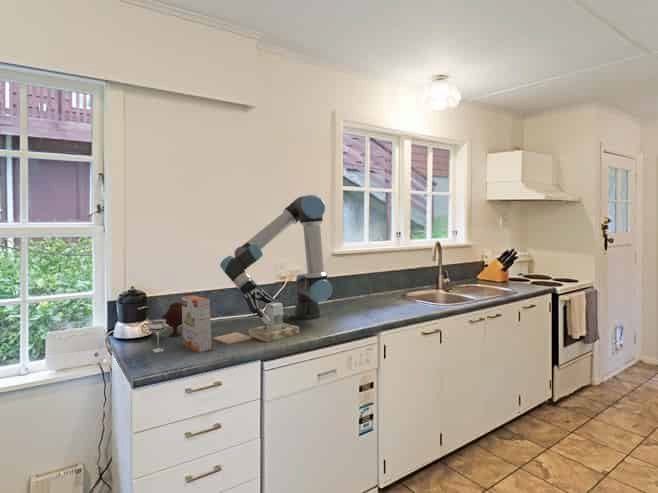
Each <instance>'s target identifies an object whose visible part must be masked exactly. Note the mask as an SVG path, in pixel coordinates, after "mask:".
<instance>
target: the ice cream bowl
mask: <svg viewBox="0 0 658 493" xmlns="http://www.w3.org/2000/svg"><path fill="white" fill-rule="evenodd" d="M161 319H165V320H166V322H165V323H166V325H167V326H169V327H171V328H172V329H173V330H172V332H171V333H170V334H168V336H169V337H170V338H177V336H178V337H181V336H183V333H181V332H180V331H178V327H180V326H181V325H183V323H182V302H177V301H176V302H173V303H171V304H170V305H169V309H168V310H167V311H166V312H165V313H164V314H163V315H161Z"/></svg>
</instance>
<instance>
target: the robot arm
mask: <svg viewBox="0 0 658 493" xmlns="http://www.w3.org/2000/svg"><path fill="white" fill-rule="evenodd" d="M282 211H283V212H282V213H281V214H279V215H278V216H277V217H276V218H275V219H273V220H272V221H271V222H270V223H269V224H267V225H266V226H265V227H263V228H262V229H261V230H260V231H259V232H257V233H256V234H255V235H253V237H251V238H250V239H249V240H247V241H246V242H245V243H244V244H243V245H241V246H238V247H236V248H235V250H234V254H233V255H234V256H232V255H228V256H227V257H225V258H224V259H223V260H222V261H221V262H220V264H219V266H220V268H221V270H222V271H223V272H224V273H225V275H226V276H227V277H228V278H229V280H231V281H232V283H233V284H234V285H235V287H237V289H239V291H240V292H241V293H242V294H243V298H244V299H245V301H246V304H247V306H248V308H249V310H250V313H252V314H253V315H257V316H258V317H259V318H260V319H261V320H262V321H263V323H264V324H267V323H268V322H269V321H270V319H269V318H268V316H267V315H266V314H265V312H264V311H263V309H262V308H260V306H259V302H260V301H261V302H263V303H264V304H268V303H272V302H277V299H275V298H274V297H273V296H271V295H270V294H268V292H266V291H265V290H264V289H263V288H259V289H257V287H258V284H257V283H256V281H254V280H253V279H252V277H251V276H250V275H249V273H248V272H246V270H247V269H249V268H250V266H252V265H253V264H255V263H256V262H257V261H259V260H260V259H261V258H262V257H263V256H264V253H263V251H262V249H264V248H265V247H266V246H267V245H268V244H269V243H271V242H272V241H273V240H274V239H276V238H277V237H278V236H279V235H280V234H282V233H283V232H284V231H285V230H287V229H288V228H290V227H291V225H295V224H297V223H298V222H299V224H300V225H301V226H303V227H302V228H303V240H304V250H305V251H304V252H305V259H306V260H305V261H306V273H303V274H297V275H296V277H295V284H296V285H295V286H296V288H295V289H296V303H295V307H294V310H293V317H294V318H295V319H296V318H297V319H301V320H303V319H304V320H308V319H311V320H312V319H317V318H320V317H322V310H321V307H320V304H319V303H324V302H325V301H326V300H328V299H330V297H331V295H332V293H333V292H332V291H333V288H332V285H331V283H330V282H329V281H328V273H327V272H325V268H324V267H325V266H324V255H323V246H322V245H323V244H322V234H321V233H322V232H321V231H322V230H321V225H322V223H323V221H324V219H323V215H324V213H325V212H326V205H325V202H324V200H323V199H322V198H321V197H320V196H318V195H315V194H308V195H303V196H301V195H300V196H299V197H297V198H295V199H294V200H293V201H292V202H291V203H290V204H289V205H287V206H286V207H285V208H284V209H283V210H282ZM258 301H259V302H258ZM284 314H285V312H283V315H284Z"/></svg>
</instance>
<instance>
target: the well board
mask: <svg viewBox="0 0 658 493" xmlns="http://www.w3.org/2000/svg"><path fill="white" fill-rule="evenodd" d="M299 334H300V326H297V325H292V324H289V323H284V322H283V329H282V330H278V331H274V332H271V331H268V330H265V325H262V326H261V325H260V326H258V327H252V328H249V329H248V336H250V337H252V338H255V339H258V340H261V341H264V342H267V343H268V342H273V341H275V340H279V339H283V338H287V337H292V336H295V335H299Z"/></svg>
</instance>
